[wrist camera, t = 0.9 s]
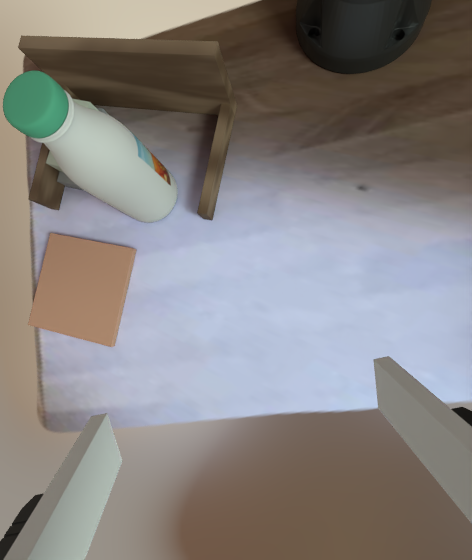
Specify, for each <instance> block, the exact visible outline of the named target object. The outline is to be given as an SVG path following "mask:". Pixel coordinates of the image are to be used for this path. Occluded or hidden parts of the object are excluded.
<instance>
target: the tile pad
mask: <svg viewBox="0 0 472 560" xmlns="http://www.w3.org/2000/svg"><path fill="white" fill-rule="evenodd" d="M135 254H136V249H133V248H128V247H123V246H117V245H112V244H107V243H101V242H96V241H91V240H85V239H80V238H75V237H69V236H64V235H59V234H53V233H50V237H49V241H48V245H47V249H46V253H45V257H44V261H43V265H42V269H41V273H40V278H39V282H38V286H37V290H36V294H35V298H34V302H33V306H32V311H31V314H30V319H29V323H28V325H31V326H34V327H38V328H42V329H46V330H49V331H53V332H57V333H61V334H65V335H68V336H72V337H76V338H80V339H83V340H87V341H91V342H95V343H98V344H102V345H106V346H110V347H113V346H115V342H116V337H117V333H118V329H119V324H120V320H121V315H122V311H123V307H124V302H125V298H126V293H127V289H128V285H129V280H130V276H131V271H132V267H133V263H134V258H135Z"/></svg>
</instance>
